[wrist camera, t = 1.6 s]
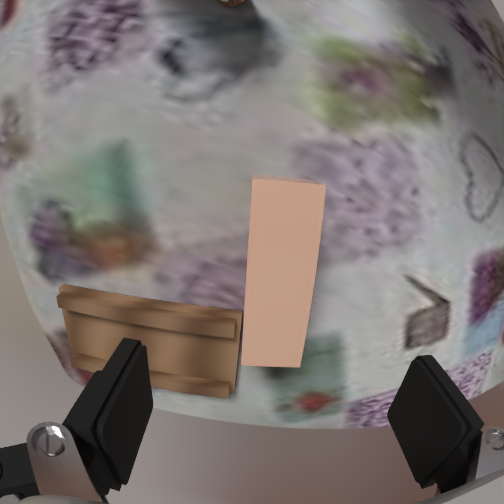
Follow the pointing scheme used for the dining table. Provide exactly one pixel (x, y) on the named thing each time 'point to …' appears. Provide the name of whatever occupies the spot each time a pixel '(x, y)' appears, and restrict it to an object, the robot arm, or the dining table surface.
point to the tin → (231, 2)
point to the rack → (155, 338)
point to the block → (280, 268)
